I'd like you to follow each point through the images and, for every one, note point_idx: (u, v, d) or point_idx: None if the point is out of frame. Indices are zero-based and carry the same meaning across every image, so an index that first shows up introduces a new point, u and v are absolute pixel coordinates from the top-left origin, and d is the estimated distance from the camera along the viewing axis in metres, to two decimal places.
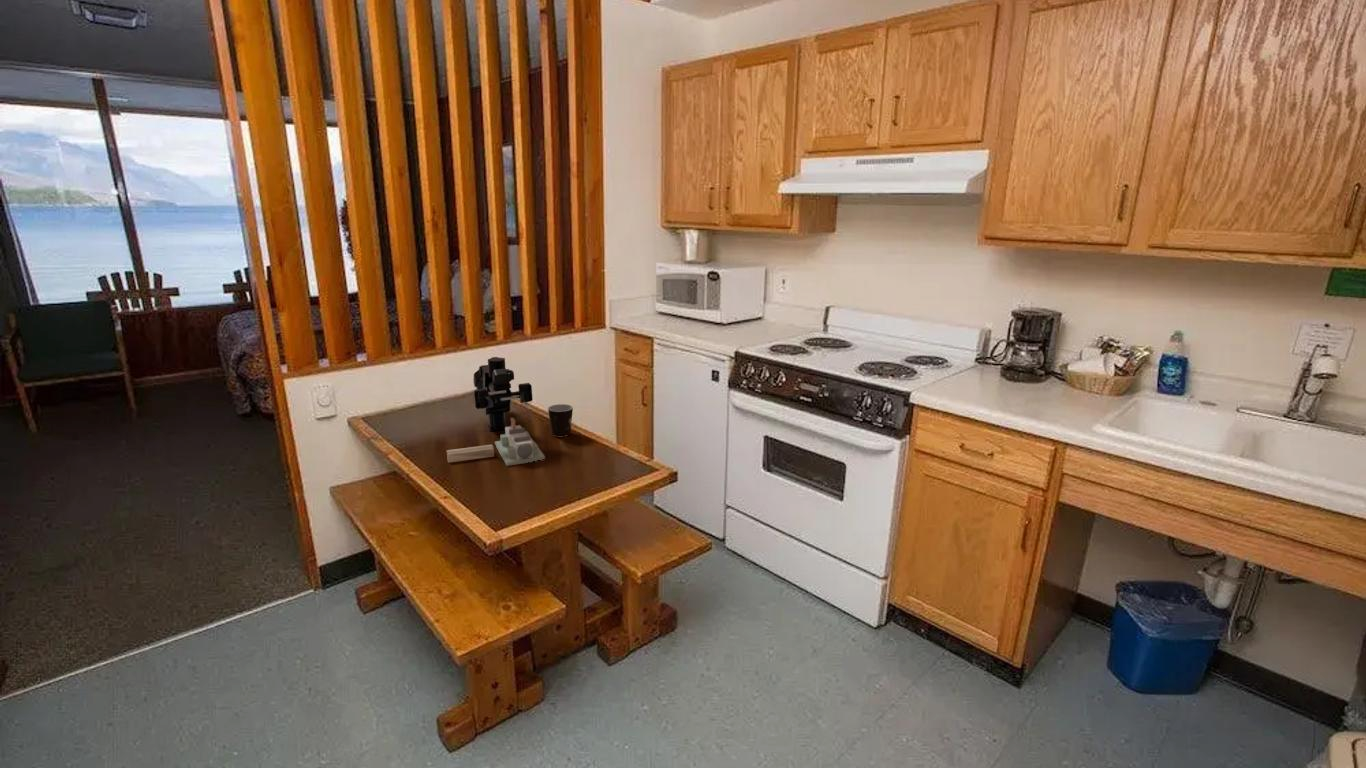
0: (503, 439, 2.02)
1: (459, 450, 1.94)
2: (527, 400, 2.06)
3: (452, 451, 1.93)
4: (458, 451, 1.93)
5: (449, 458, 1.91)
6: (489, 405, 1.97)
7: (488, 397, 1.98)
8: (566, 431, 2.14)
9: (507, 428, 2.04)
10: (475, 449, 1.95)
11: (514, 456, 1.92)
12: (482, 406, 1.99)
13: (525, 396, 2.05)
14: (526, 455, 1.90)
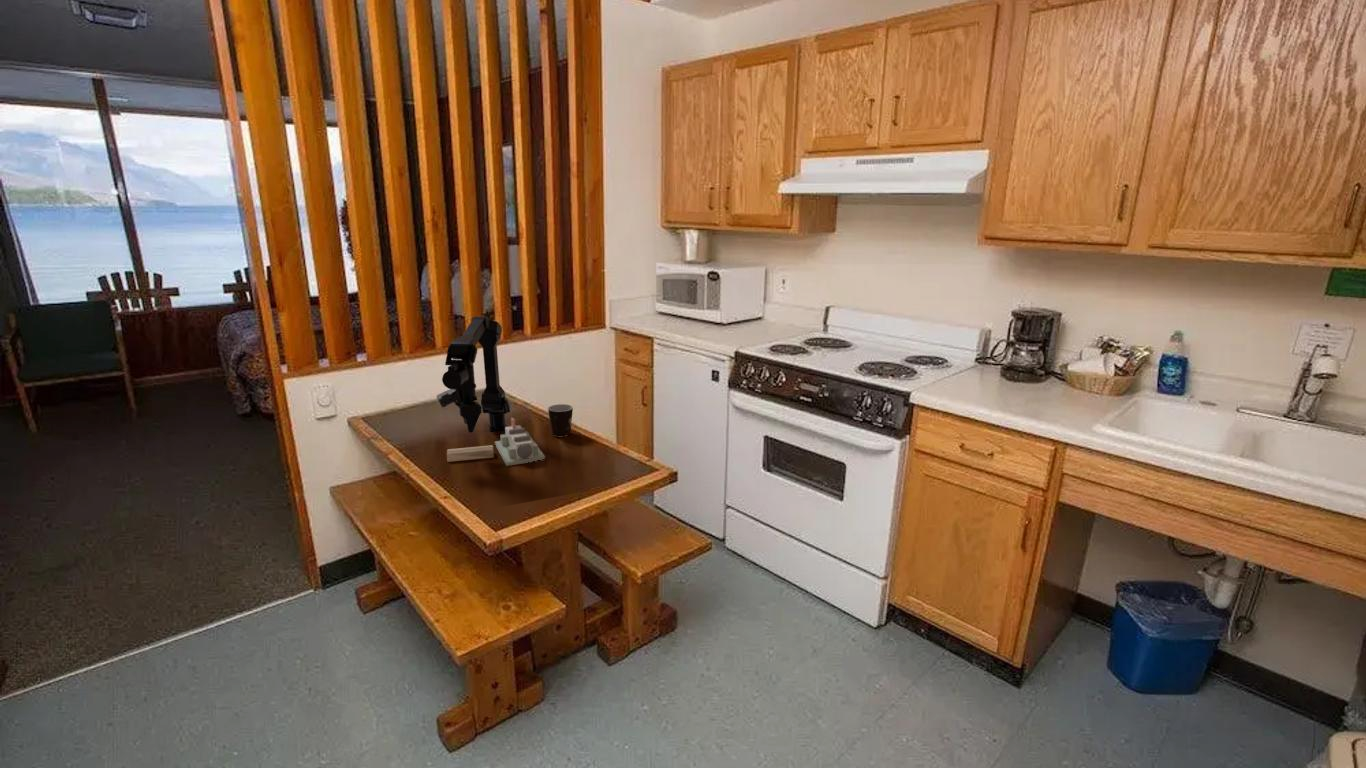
0: (503, 439, 2.02)
1: (459, 450, 1.94)
2: None
3: (452, 451, 1.93)
4: (458, 451, 1.93)
5: (448, 457, 1.91)
6: None
7: None
8: (566, 431, 2.14)
9: (507, 428, 2.04)
10: (475, 449, 1.95)
11: (514, 456, 1.92)
12: None
13: None
14: (526, 455, 1.90)
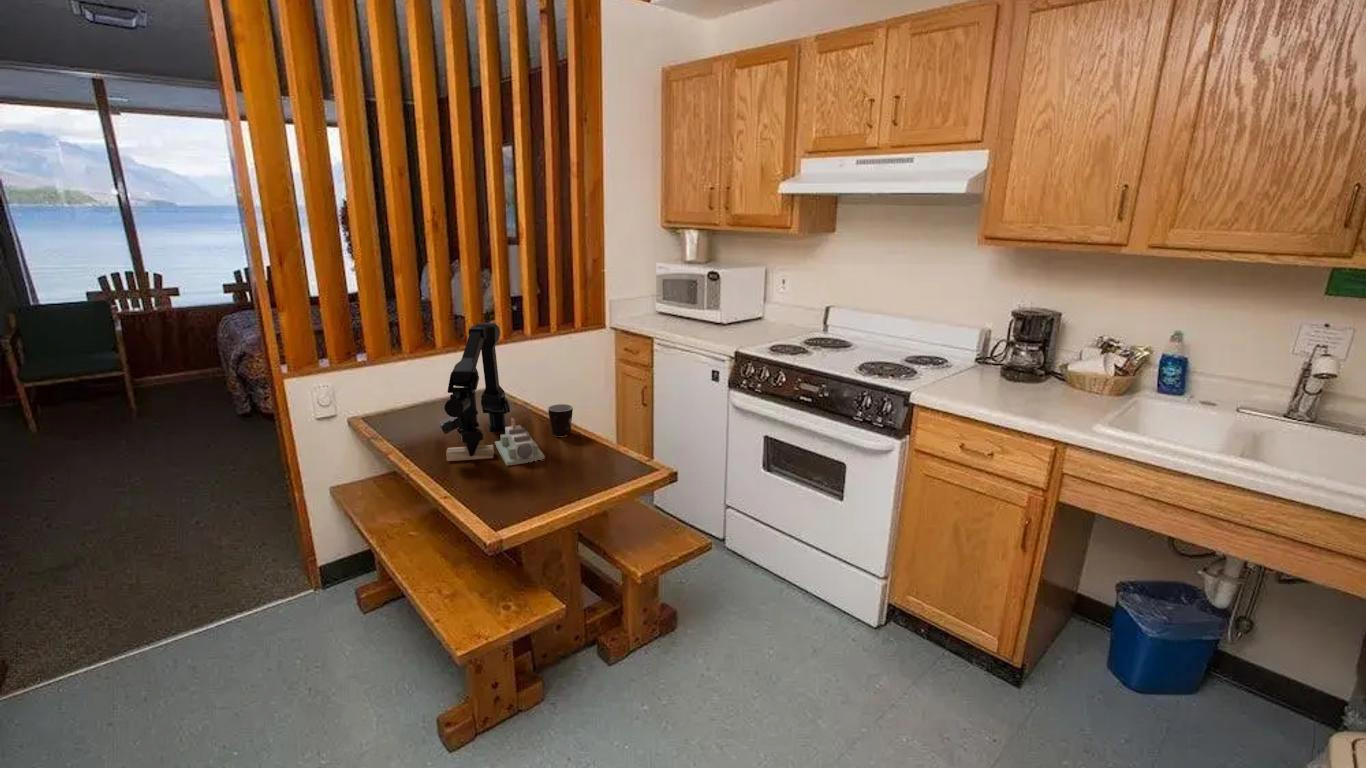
0: (503, 439, 2.02)
1: (459, 448, 1.94)
2: None
3: (452, 449, 1.94)
4: (458, 449, 1.94)
5: (448, 456, 1.92)
6: None
7: None
8: (566, 431, 2.14)
9: (507, 428, 2.04)
10: None
11: (514, 456, 1.92)
12: None
13: None
14: (526, 455, 1.90)
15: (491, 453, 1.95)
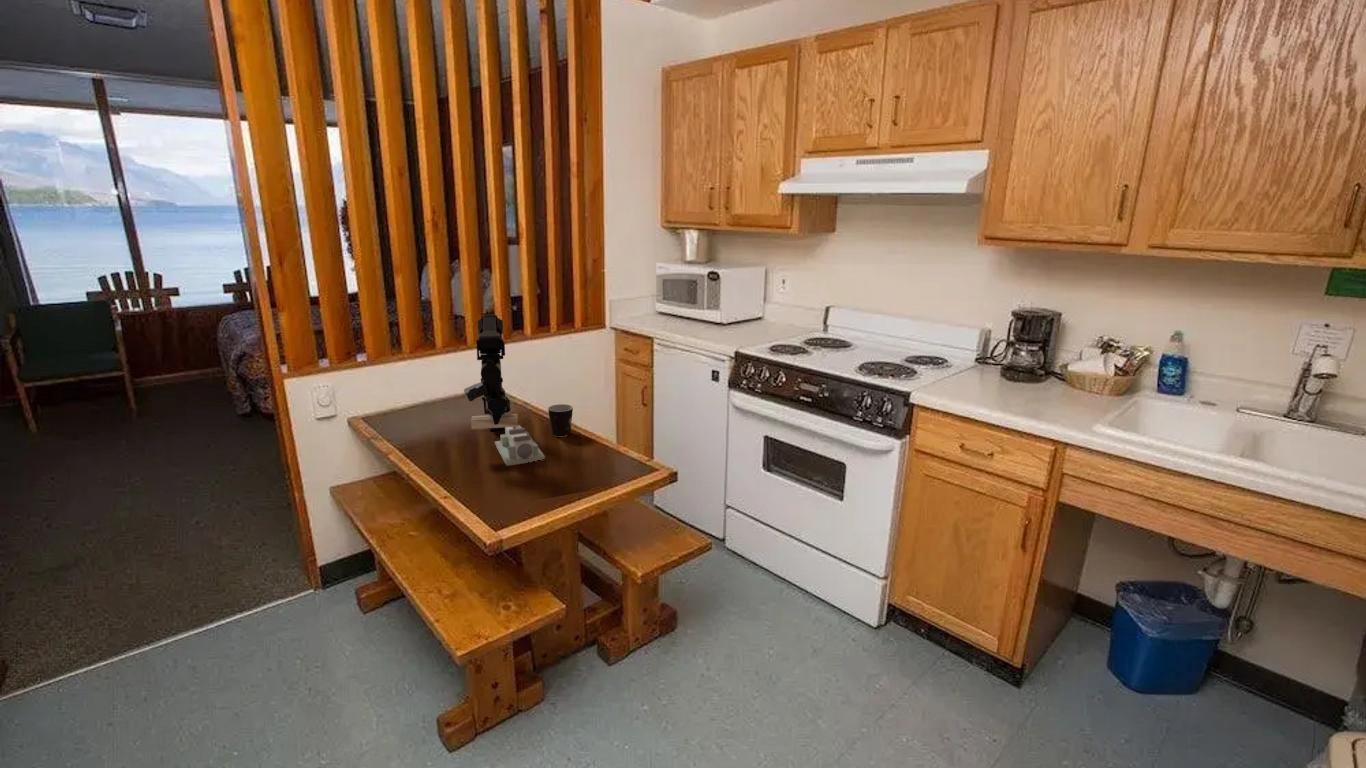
0: (503, 439, 2.02)
1: (484, 417, 1.93)
2: None
3: (476, 417, 1.93)
4: (482, 417, 1.93)
5: (472, 424, 1.91)
6: None
7: None
8: (566, 431, 2.14)
9: (507, 428, 2.04)
10: None
11: (514, 456, 1.92)
12: None
13: None
14: (526, 455, 1.90)
15: (515, 421, 1.94)
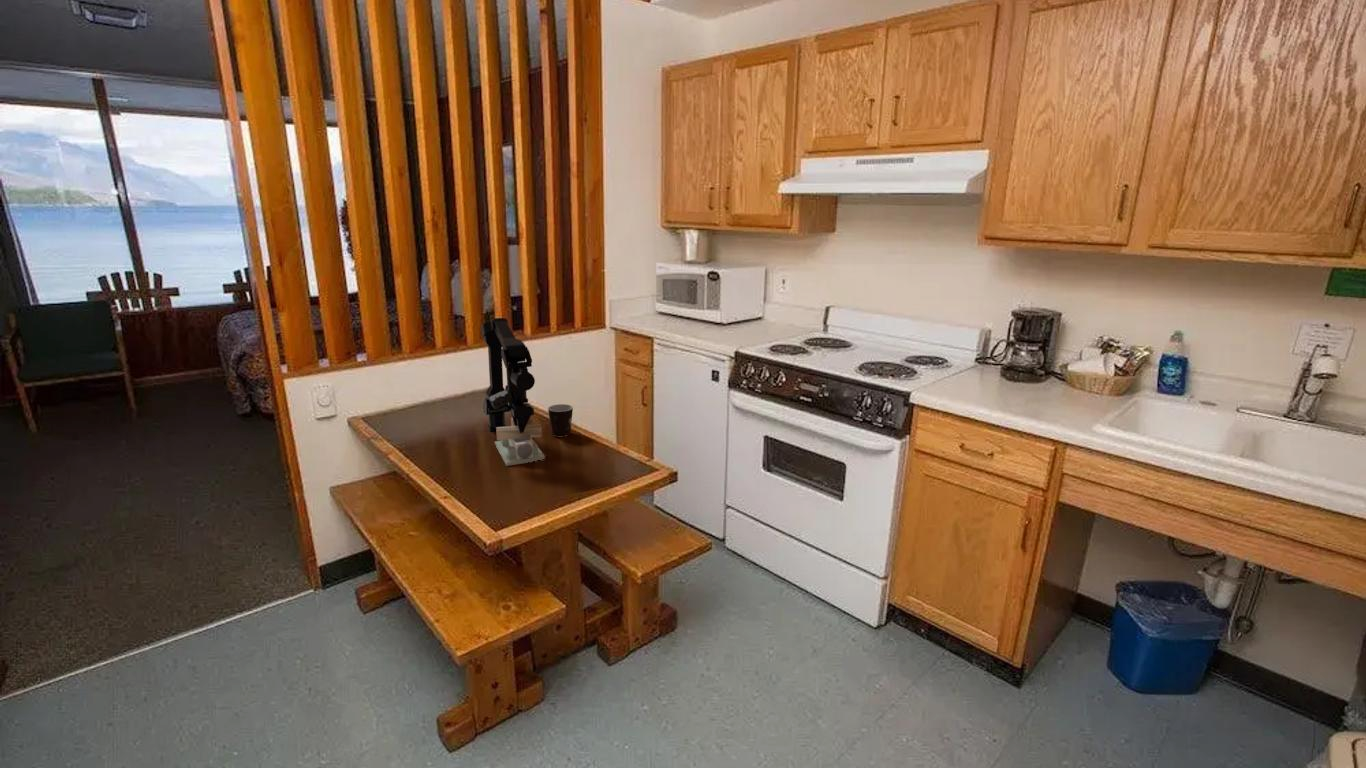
0: None
1: (508, 427, 1.96)
2: None
3: (501, 428, 1.95)
4: (507, 428, 1.95)
5: (498, 435, 1.93)
6: None
7: (511, 413, 1.98)
8: (566, 431, 2.14)
9: None
10: None
11: (514, 456, 1.92)
12: None
13: None
14: (526, 455, 1.90)
15: (540, 432, 1.97)
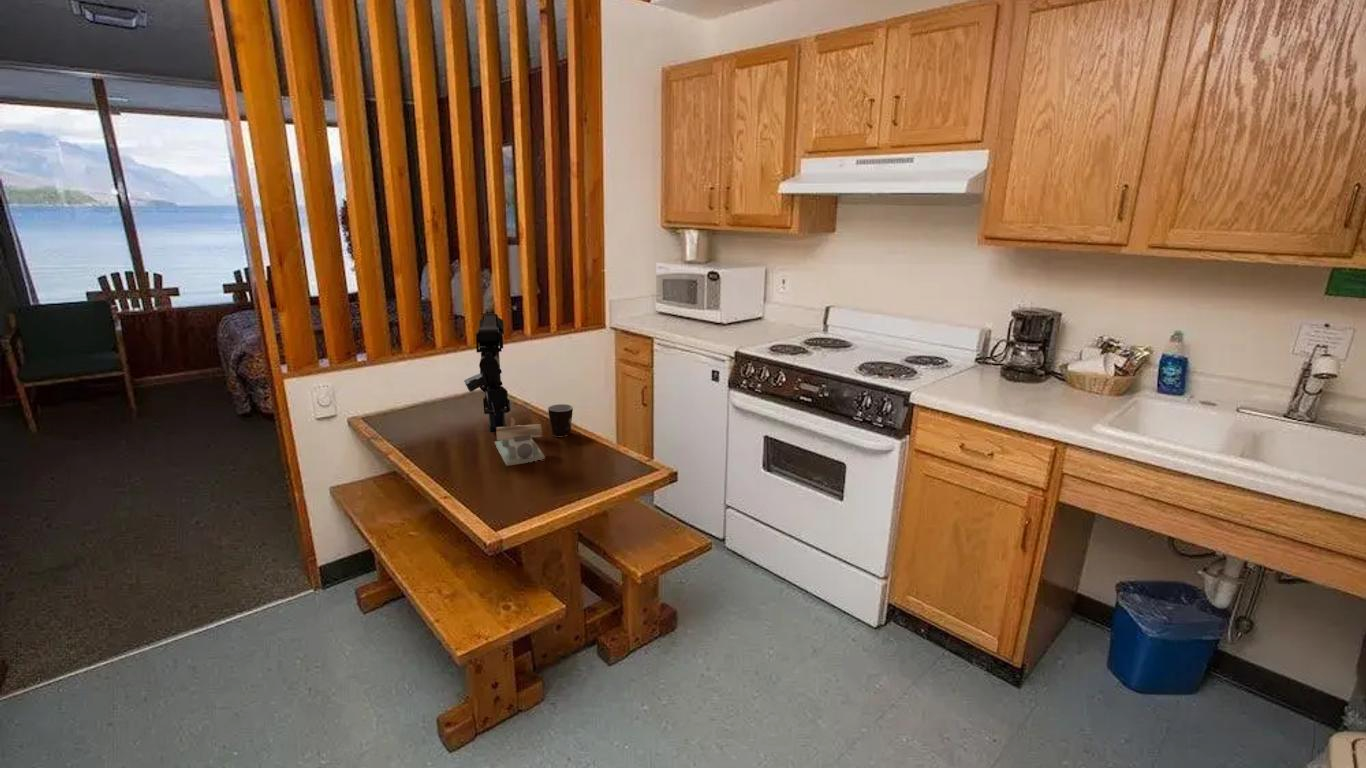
0: None
1: (508, 427, 1.96)
2: None
3: (501, 428, 1.95)
4: (507, 428, 1.95)
5: (498, 435, 1.93)
6: None
7: (485, 394, 2.07)
8: (566, 431, 2.14)
9: None
10: (523, 427, 1.96)
11: (514, 456, 1.92)
12: None
13: None
14: (526, 455, 1.90)
15: (540, 432, 1.97)
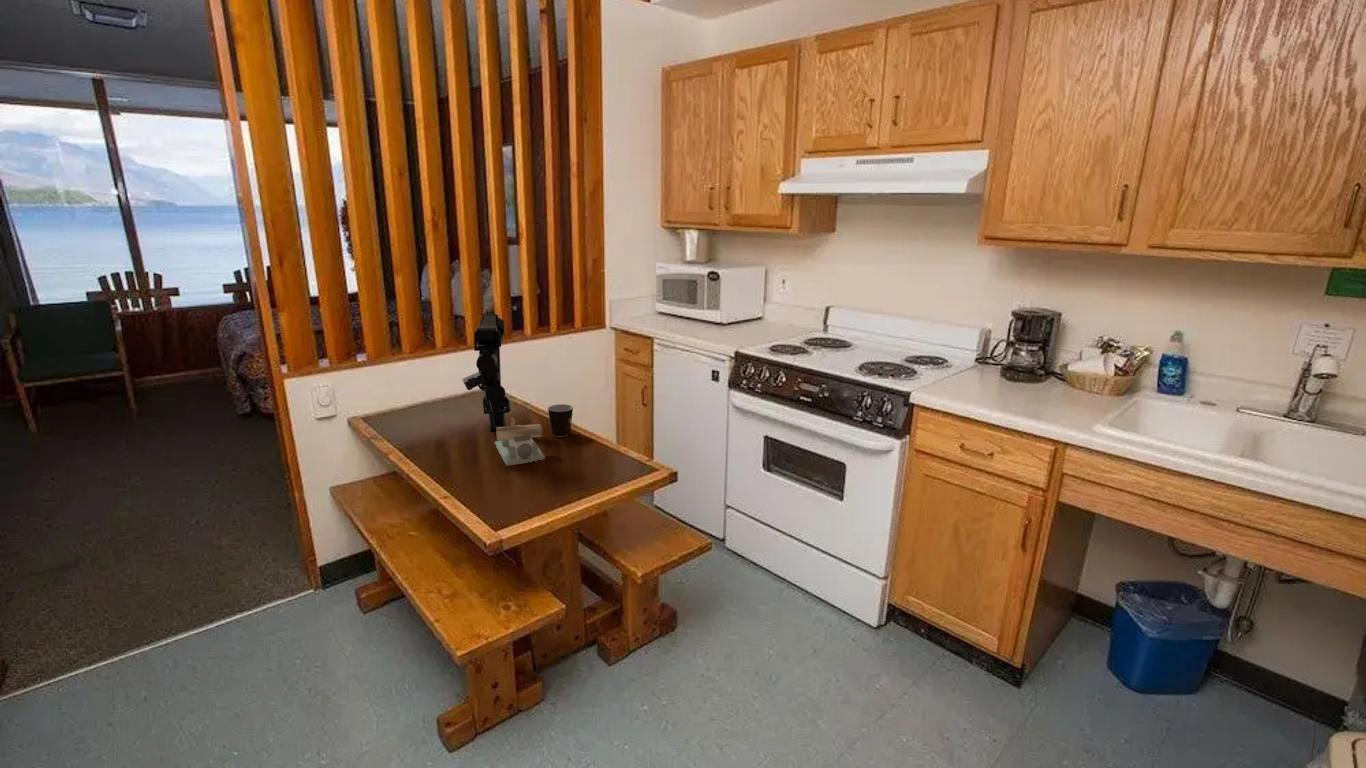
0: None
1: (508, 427, 1.96)
2: None
3: (501, 428, 1.95)
4: (507, 428, 1.95)
5: (498, 435, 1.93)
6: None
7: None
8: (566, 431, 2.14)
9: None
10: (523, 427, 1.96)
11: (514, 456, 1.92)
12: None
13: None
14: (526, 455, 1.90)
15: (540, 432, 1.97)
